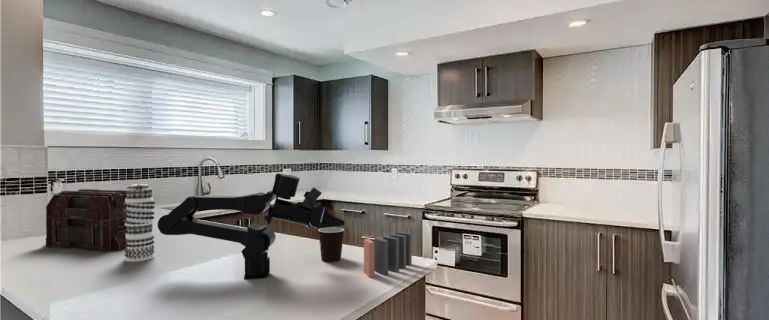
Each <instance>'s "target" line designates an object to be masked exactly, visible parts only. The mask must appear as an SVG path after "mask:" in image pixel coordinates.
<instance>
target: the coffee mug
mask: <svg viewBox="0 0 769 320" xmlns="http://www.w3.org/2000/svg"><path fill="white" fill-rule="evenodd" d="M317 231H318V232H317V233H318V241H319V249H320V258H321V259H320V260H321V261H322V262H325V263H336V262H340V261H341V260H342V251H343V244H344V234H345V229H344V228H342V227H338V226H334V227H327V228H319V229H317Z"/></svg>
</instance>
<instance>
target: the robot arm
mask: <svg viewBox="0 0 769 320" xmlns="http://www.w3.org/2000/svg"><path fill="white" fill-rule="evenodd" d="M300 179H301V178H300V177H298V176H295V175H292V174H285V173H280V172H277V173H276V174H275V177H274V182H273V187H272V190H270V191H267V192H256V193H255V192H254V193H249V194H244V195H237V196H235V195H233V196H232V195H199V194H194V195H191V196H187V197H186V198H185V200H183V201H182V202H181V203H180V204H179V205H177V206H176V207H175V208H174V209H172V210H171V211H169V212H168V213H167V214H163V215H162V216H161V217H159V219H158V221H157V229H158V230H159V232H160V234H162V235H164V236H181V235H182V236H183V235H195V236H200V237H204V238H209V239H216V240H222V241H226V242H227V241H228V242H234V243H238V244H240V245H242V246H243V247H244V248H243V249H241V254H242V258H244V276H243V279H244V280H246V279H247V280H249V279H259V278H260V279H261V278H268V277H269V274H270V272H271V259H270V258H271V257H270V256H268V251H269V249H270V247H271V246H273V244H274V243H275V241H276V237H277V236H276V233H275V231H274V230H273V229H272V228H270V227H268V225H271V224H272V221H273V219H276V220H281V221H286V222H290V223H293V224H298V225H303V226H304V227H306V228H307V229H312V230H319V229H321V228H329V227H341V226H345V223H346V222H345V221H344V220H343V219H341V218H338V217H336V216H334V215H332V214H330V212H328V210H327V207H326V206H324V205H322V204H316V205H314V204H315V203H316V201H317V200H318V198H320V196H321V195H322V192H321V191H320V190H319V189H317V188H316V187H312V188H311V189H310V191H307V190H306V191H305V193H304V194H303V197H304V199H303V201H302V202H301V201H298V202H293V201H289V200H291V198H295V197H296V193H297V190H298V186H299V182H300ZM273 200H274V203H273V204H271V203H272V202H273ZM200 210H205V211H206V210H215V211H220V210H221V211H239V212H241V213H244V214H249V215H255V216H257V215H259V214H263V212H265V211H267V210H268V212H267V213H266V214H264V216H263V218H264V219H265V220H266V222H267V224H268V225H261V224H259V223H255V222H254V223H252V224H250V225H249V226H247V227H240V226H234V225H230V224H229V225H228V224H223V223H218V222H212V221H207V220H201V219H198V218H196V217H195V215H196V213H197V212H198V211H200Z"/></svg>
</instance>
